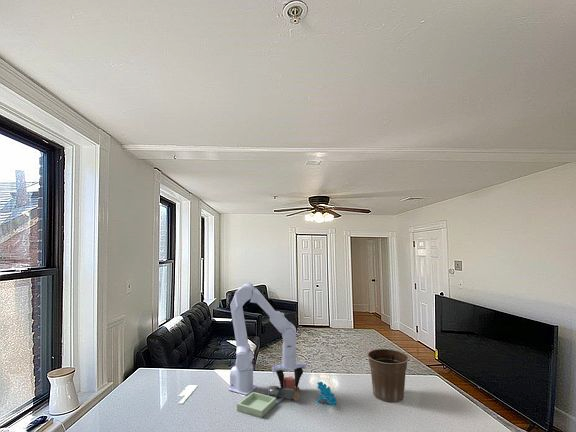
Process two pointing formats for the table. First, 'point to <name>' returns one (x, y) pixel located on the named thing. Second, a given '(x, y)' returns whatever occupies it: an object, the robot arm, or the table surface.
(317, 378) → the table surface
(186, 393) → the butcher knife
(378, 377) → the plant pot
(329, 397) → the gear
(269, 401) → the tray
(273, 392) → the crank
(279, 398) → the crank base
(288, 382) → the block
